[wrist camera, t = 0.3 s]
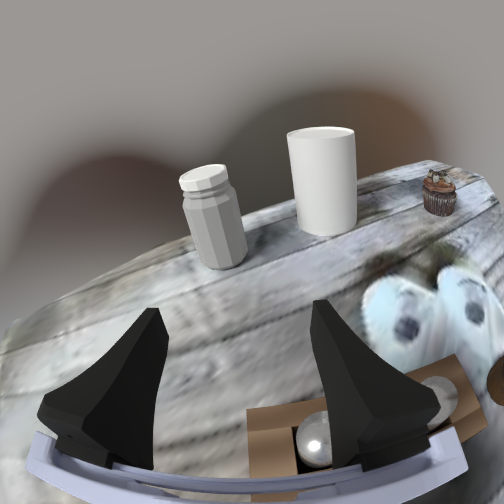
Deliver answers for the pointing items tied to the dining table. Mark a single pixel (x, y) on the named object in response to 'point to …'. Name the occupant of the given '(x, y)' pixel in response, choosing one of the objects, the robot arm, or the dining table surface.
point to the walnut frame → (292, 415)
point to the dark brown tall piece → (496, 382)
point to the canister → (324, 179)
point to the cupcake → (439, 193)
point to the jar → (214, 217)
